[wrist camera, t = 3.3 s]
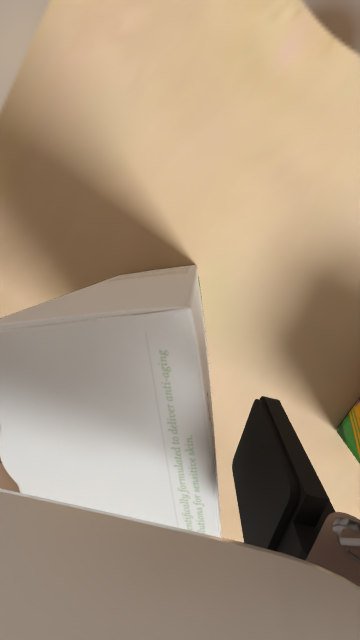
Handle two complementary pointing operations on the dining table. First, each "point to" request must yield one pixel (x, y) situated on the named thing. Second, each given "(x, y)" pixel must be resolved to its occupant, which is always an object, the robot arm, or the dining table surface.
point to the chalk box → (352, 430)
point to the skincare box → (114, 400)
